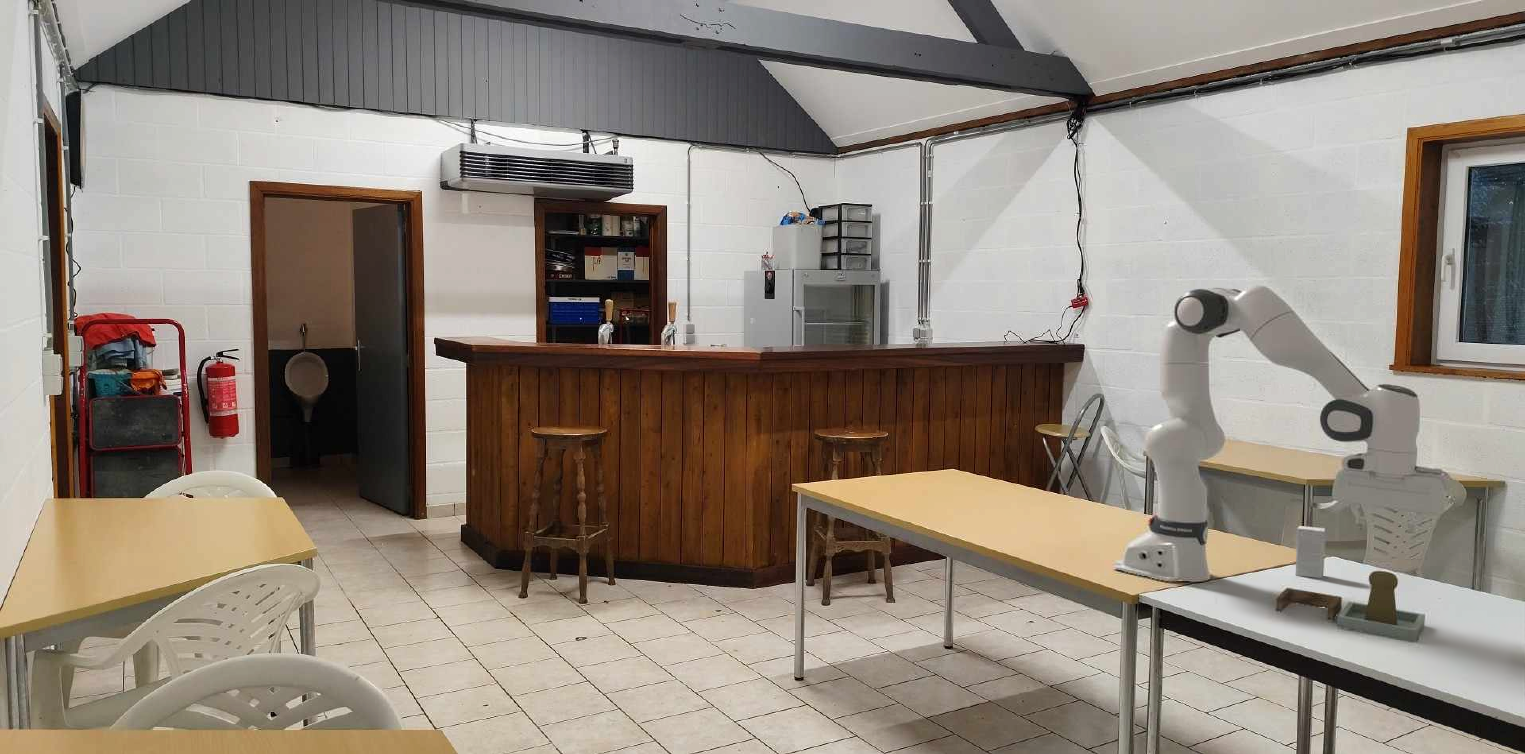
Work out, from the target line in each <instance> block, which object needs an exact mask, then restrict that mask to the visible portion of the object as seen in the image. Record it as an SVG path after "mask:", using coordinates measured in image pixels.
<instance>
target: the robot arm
mask: <svg viewBox="0 0 1525 754" xmlns="http://www.w3.org/2000/svg"><path fill="white" fill-rule="evenodd" d="M1173 311H1174V312H1173V314H1174V318H1173V319H1172V320H1170V321H1169V322H1167V323H1166V325H1165V326H1164V328H1163V333H1162V337H1161V345H1160V355H1159V359H1160V363H1159V364H1160V365H1159V369H1160V371H1159V373H1160V381H1159V382H1160V395H1161V397H1162V399H1163V400H1164V401H1165V402H1166V404H1167V408H1168V410H1169V413H1170V417H1171V420H1166V421H1163V422H1160V423H1158V424H1156V425H1154V426H1153V427H1151V428H1150V429H1149V430H1148V431H1147V432H1146V434H1145V437H1144V441H1143V445H1144V450H1145V453H1146V455H1147V456H1148V458H1149V459H1151V461H1152V463H1153V466H1154V471H1155V474H1156V478H1157V484H1158V485H1157V486H1158V488H1157V489H1158V494H1157V495H1158V498H1157V499H1158V501H1157V503H1158V504H1157V513H1156V514H1154V515H1152V517H1151V518H1149V520H1148V521H1147V526H1149V530H1147V531H1145V532H1144V533H1142V534H1140V535H1139V536H1137V537H1135V538H1133V539H1132V540H1131V541H1129V542H1128V543H1127V544H1126V547H1125V550H1124V552H1123V556H1122V557H1123V558H1120V559H1118V560H1116V561H1115V562H1114V564H1113V567H1114V568H1116V569H1119V570H1122V571H1125V572H1124V573H1126V572H1132V573H1136V574H1139V575H1142V576H1141V577H1143V576H1149V577H1153V578H1157V579H1161V580H1167V581H1179V580H1182V581H1190V582H1189V583H1193V582H1194V583H1197V582H1198V583H1199V582H1204V581H1209V580H1210V579H1211V574H1210V571H1209V570H1210V569H1209V566H1208V558H1207V550H1206V549H1207V548H1206V547H1207V546H1206V544H1207V543H1208V542H1207V541H1208V535H1209V534H1208V533H1209V528H1208V520H1207V505H1208V504H1207V500H1208V498H1207V497H1208V489H1207V487H1206V485H1205V484H1204V483H1203V481H1202V478H1201V475H1200V471H1199V462H1204V461H1207V460H1210V459H1211V458H1214V457H1215V456H1216V455H1217V454H1219V453H1220V452H1221V451H1222V450H1223V448H1224V445H1225V443H1226V441H1225V439H1226V437H1225V433H1224V430H1223V428H1222V427H1221V425H1220V424H1219V423H1218V421H1217V420H1216V416H1215V412H1214V408H1213V406H1212V400H1211V395H1210V368H1209V367H1210V365H1209V364H1210V363H1209V361H1210V360H1209V358H1210V357H1209V349H1210V344H1211V341H1212V340H1213V339H1214V338H1215V337H1216V338H1219V339H1220V338H1223V337H1226V336H1228V335H1231V334H1234V333H1239V332H1240V331H1241V332H1243V334H1244V335H1245V336H1246V337H1247V339H1249V341H1250V342H1251V344H1252V345H1253V346H1254V347H1255V348H1256V349H1257V351H1258V352H1259V353H1260V354H1261V355H1262V356H1264V357H1265V358H1266V359H1267V360H1269V362H1271V363H1272V364H1275V365H1276V366H1281V367H1285V368H1289V369H1293V370H1295V371H1297V372H1302V373H1304V374H1306V375H1308V376H1310V377H1311V378H1313V379H1314V380H1316V381H1317V382H1318V383H1319V384H1320V385H1321V386H1322V387H1323V388H1324V389H1325V390H1326V391H1327V393H1329V394H1330V396H1332V398H1334V400H1331V401H1329V402H1327V403H1326V404H1325V405H1324V406H1323V408H1322V409H1321V412H1320V416H1319V422H1320V423H1319V424H1320V427H1321V430H1322V431H1323V432H1324V434H1325V435H1326V436H1327V437H1328V438H1330V439H1332V440H1333V441H1335V442H1337V441H1338V442H1341V443H1359V442H1365V443H1366V444H1367V449H1366V452H1363V453H1356V454H1351V455H1347V456H1345V457H1343V458H1342V459H1341V462H1340V463H1341V467H1342V468H1340V470H1339V471H1338V472H1337V473H1336V475H1335V478H1334V482H1333V486H1332V493H1331V496H1332V498H1333V499H1334V501H1335V502H1340V503H1347V504H1350V508H1349V509H1350V510H1351V512H1352V513H1353V516H1354V517H1355V520H1354V521H1355V522H1354V525H1355V526H1360V527H1364V526H1365V520H1366V516H1361V514H1360V512H1359V510H1358V509H1359V508H1360V507H1361V506H1360V505H1362V506H1369V507H1375V508H1384V509H1390V510H1392V509H1393V510H1398V511H1405V512H1406V511H1407V512H1415V518H1417V519H1416V520H1415V521H1414V522H1413V523H1412V522H1411V523H1408V526H1407V528H1408V529H1407V533H1409V534H1417V533H1418V525H1420V523H1421V522H1422V520H1424V518H1425V516H1426V514H1428V515H1429V514H1430V515H1435V516H1436V515H1437V516H1441V515H1443V514H1444V513H1445V512H1446V511H1447V491H1448V490H1449V489H1450V487H1451V477H1450V475H1449V474H1448V473H1447V472H1446V471H1444V470H1443V469H1441V468H1429V467H1426V466H1418V465H1417V462H1418V461H1417V459H1418V447H1417V437H1418V434H1419V432H1420V424H1421V423H1420V421H1421V418H1420V417H1421V406H1420V405H1421V404H1420V400H1419V399H1420V398H1419V396H1418V394H1417V393H1416V392H1415V391H1414V390H1412V389H1410V388H1407V387H1403V386H1400V385H1397V384H1396V385H1394V384H1386V383H1385V384H1384V383H1383V384H1377V385H1376V386H1374V387H1373V388H1371V389H1369V387H1367V386H1366V385H1365V384H1364V383H1363V382H1362V381H1361V380H1360V379H1359V378H1358V377H1357V376H1356V375H1355V374H1354V373H1353V372H1352V371H1351V369H1349V368H1348V367H1347V366H1346V365H1345V363H1343V362H1342V361H1341V360H1340V359H1339V358H1338V357H1337V356H1336V355H1335V354H1334V353H1333V351H1331V350H1330V349H1329V348H1328V347H1327V346H1326V345H1325V344H1324V343H1323V342H1322V341H1321V340H1320V339H1319V338H1318V337H1317V336H1316V335H1315V334H1314V333H1313V331H1311V329H1310V328H1309V327H1308V326H1307V324H1305V323H1304V321H1303V320H1302V319H1301V317H1300V316H1299V315H1298V314H1297V313H1296V312H1295V311H1294V309H1292V307H1291V306H1290V305H1289V304H1288V303H1287V302H1286V301H1285V300H1284V299H1282V297H1280V296H1279V295H1278V294H1277V293H1275V292H1274V291H1273V290H1272V289H1270V288H1269V287H1267V286H1265V285H1258V284H1257V285H1251V286H1249V287H1247V288H1245V289H1243V290H1239V289H1235V288H1224V287H1211V288H1206V289H1205V288H1196V289H1193V290H1192V289H1191V290H1190V291H1187V292H1185V293H1183V294H1182V295H1181V296H1180V297H1178V299H1177V301H1176V303H1175V306H1174V310H1173ZM1114 568H1113V569H1114ZM1139 575H1138V576H1139ZM1161 580H1160V581H1161Z"/></svg>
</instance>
